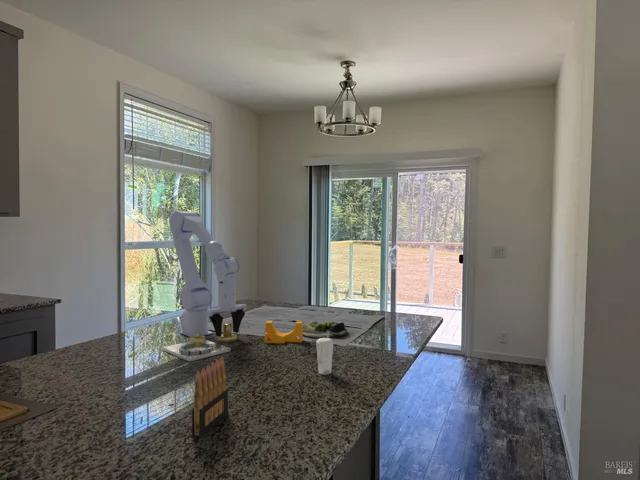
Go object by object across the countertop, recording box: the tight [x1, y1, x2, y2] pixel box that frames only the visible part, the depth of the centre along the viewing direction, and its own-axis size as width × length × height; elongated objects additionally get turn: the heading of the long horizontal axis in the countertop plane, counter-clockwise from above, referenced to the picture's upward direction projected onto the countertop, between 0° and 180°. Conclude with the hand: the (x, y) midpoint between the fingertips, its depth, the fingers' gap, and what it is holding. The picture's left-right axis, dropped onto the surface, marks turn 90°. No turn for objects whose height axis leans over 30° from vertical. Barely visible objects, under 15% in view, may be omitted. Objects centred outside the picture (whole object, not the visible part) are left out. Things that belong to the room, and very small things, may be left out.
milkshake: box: [315, 332, 335, 376], centre depth 113 cm, size 5×5×10 cm
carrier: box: [162, 334, 232, 363], centre depth 133 cm, size 16×14×4 cm
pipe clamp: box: [264, 320, 304, 344], centre depth 144 cm, size 12×4×6 cm, turn 86°
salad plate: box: [303, 321, 348, 339], centre depth 155 cm, size 19×18×5 cm
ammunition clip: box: [191, 356, 229, 438], centre depth 84 cm, size 11×2×12 cm, turn 164°
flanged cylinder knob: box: [217, 322, 237, 343], centre depth 146 cm, size 6×6×6 cm
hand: (227, 334), depth 146 cm, fingers open, 6 cm apart
